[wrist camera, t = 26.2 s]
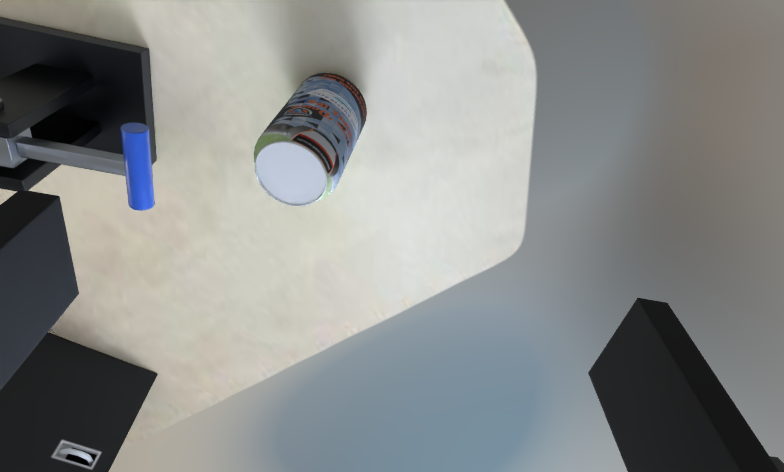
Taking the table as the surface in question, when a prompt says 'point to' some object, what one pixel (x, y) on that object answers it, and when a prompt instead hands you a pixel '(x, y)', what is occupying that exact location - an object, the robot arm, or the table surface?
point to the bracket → (69, 93)
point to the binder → (68, 409)
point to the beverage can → (310, 140)
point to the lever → (93, 159)
